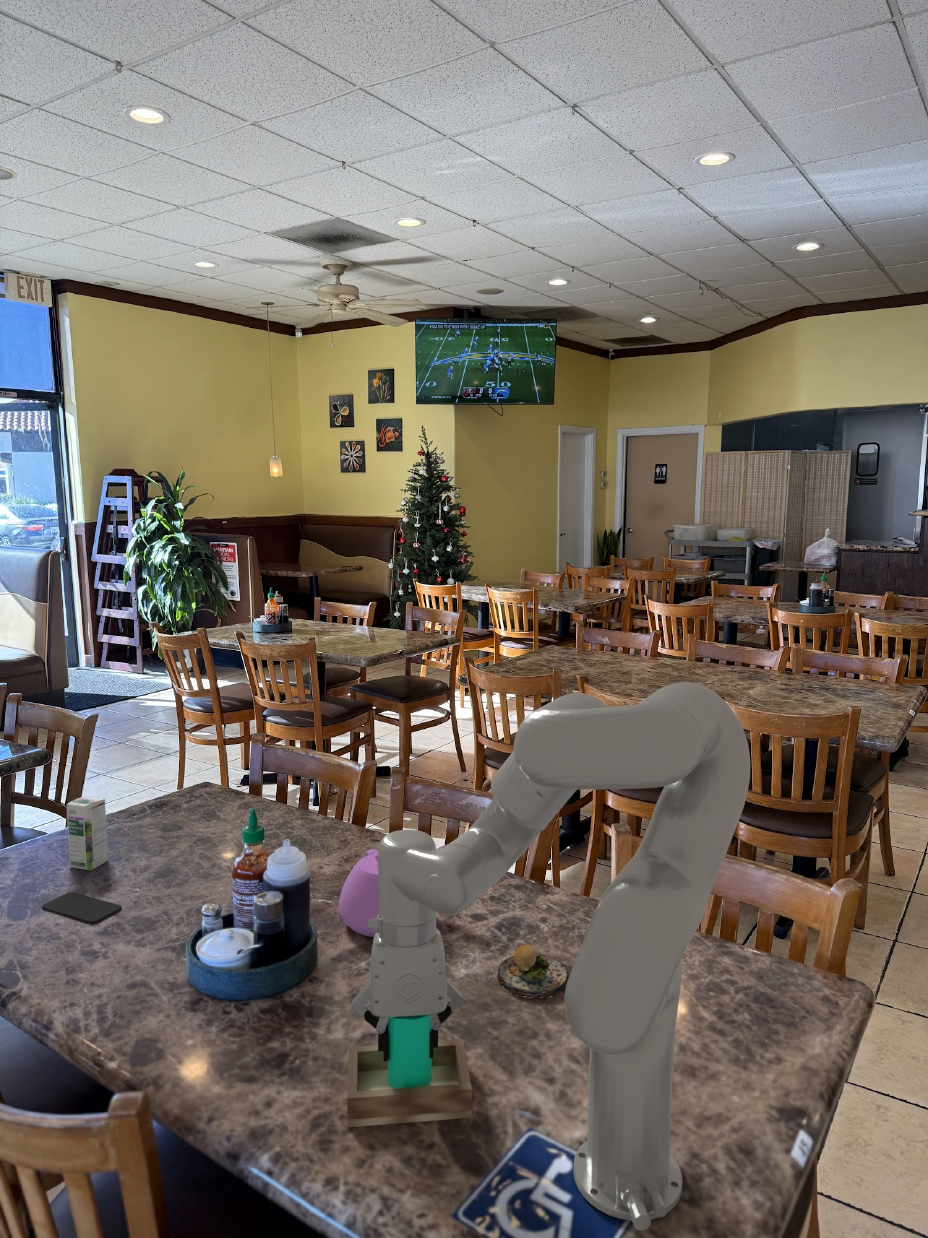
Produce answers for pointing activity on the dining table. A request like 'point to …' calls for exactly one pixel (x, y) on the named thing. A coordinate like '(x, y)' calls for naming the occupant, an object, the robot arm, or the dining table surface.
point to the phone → (82, 907)
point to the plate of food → (531, 973)
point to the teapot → (361, 894)
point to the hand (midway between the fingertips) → (408, 1052)
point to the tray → (414, 1104)
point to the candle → (409, 1051)
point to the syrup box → (87, 833)
